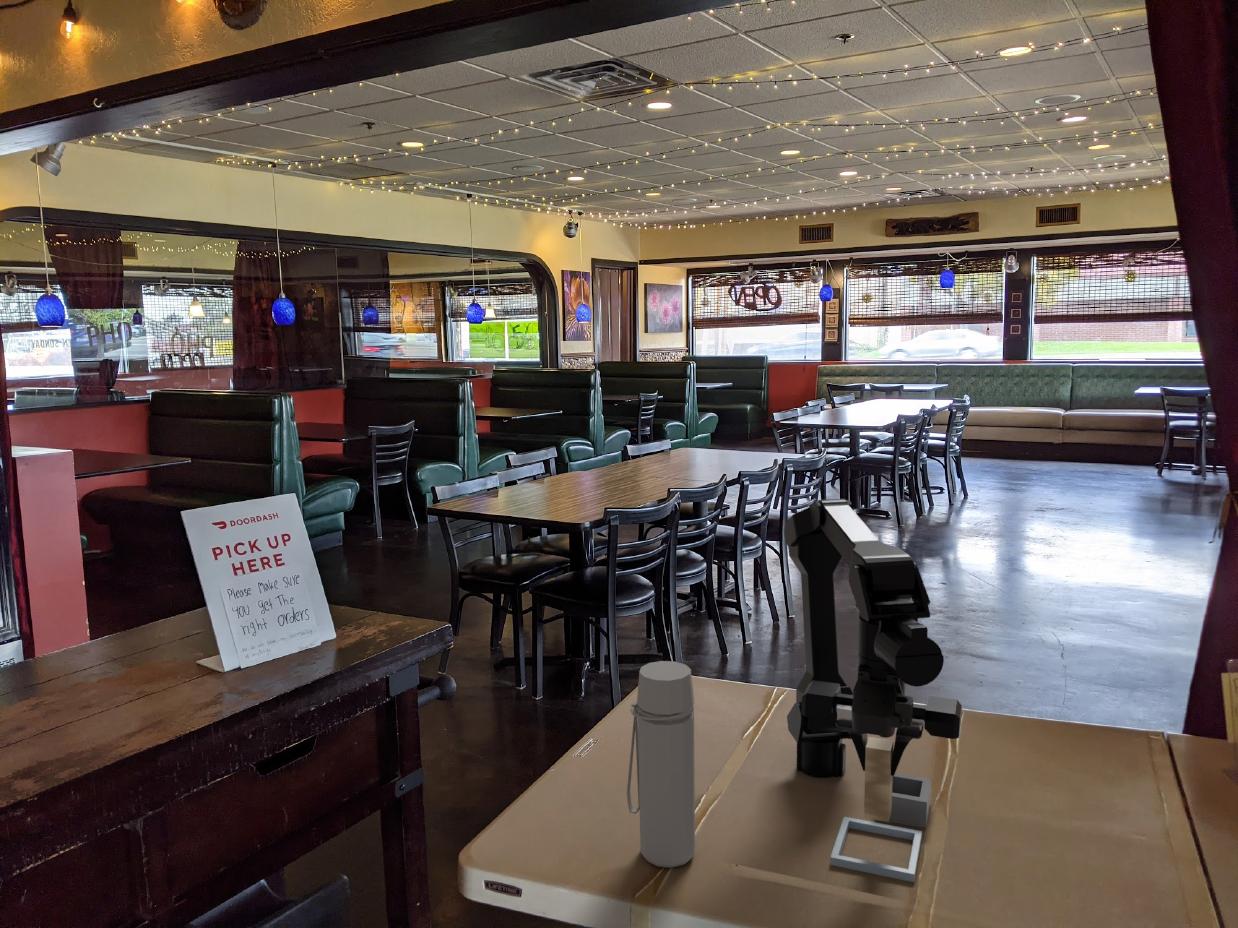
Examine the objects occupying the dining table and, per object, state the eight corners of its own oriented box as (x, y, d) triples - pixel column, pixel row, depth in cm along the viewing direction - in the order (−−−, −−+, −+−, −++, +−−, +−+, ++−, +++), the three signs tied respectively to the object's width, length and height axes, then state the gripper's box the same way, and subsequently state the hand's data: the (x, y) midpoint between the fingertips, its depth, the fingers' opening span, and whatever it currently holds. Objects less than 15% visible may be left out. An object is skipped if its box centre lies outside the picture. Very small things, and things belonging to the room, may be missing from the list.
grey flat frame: (830, 870, 115) (830, 856, 115) (843, 828, 124) (844, 816, 124) (913, 887, 111) (914, 874, 111) (921, 843, 120) (921, 831, 120)
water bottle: (705, 844, 121) (703, 663, 117) (683, 877, 114) (681, 686, 110) (640, 829, 125) (637, 654, 121) (616, 860, 118) (611, 675, 114)
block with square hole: (874, 823, 125) (875, 793, 124) (881, 800, 131) (881, 770, 130) (925, 833, 123) (926, 802, 122) (929, 808, 129) (930, 778, 128)
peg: (863, 817, 116) (865, 746, 115) (867, 805, 119) (869, 736, 117) (888, 822, 115) (890, 750, 113) (891, 810, 118) (893, 740, 116)
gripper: (792, 667, 110) (791, 789, 112) (959, 689, 102) (953, 819, 105) (811, 636, 120) (809, 748, 122) (964, 654, 113) (959, 773, 115)
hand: (878, 771), depth 116 cm, fingers closed on peg, 3 cm apart
